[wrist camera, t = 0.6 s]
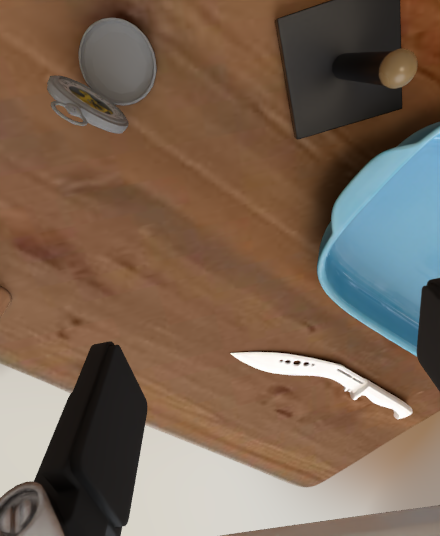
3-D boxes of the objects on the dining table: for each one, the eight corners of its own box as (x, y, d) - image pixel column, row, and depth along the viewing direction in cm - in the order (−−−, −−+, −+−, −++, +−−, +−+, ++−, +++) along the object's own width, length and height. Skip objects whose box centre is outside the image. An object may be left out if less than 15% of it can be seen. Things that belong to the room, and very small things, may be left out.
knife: (228, 358, 49) (264, 322, 46) (228, 350, 51) (262, 314, 47) (378, 438, 58) (416, 412, 54) (374, 429, 59) (412, 403, 56)
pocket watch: (154, 19, 30) (132, 3, 22) (161, 125, 34) (145, 147, 26) (56, 17, 30) (-5, 0, 21) (75, 124, 34) (30, 145, 26)
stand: (274, 20, 30) (311, -3, 19) (393, -20, 29) (503, -68, 18) (294, 137, 35) (333, 172, 24) (396, 107, 34) (485, 129, 23)
